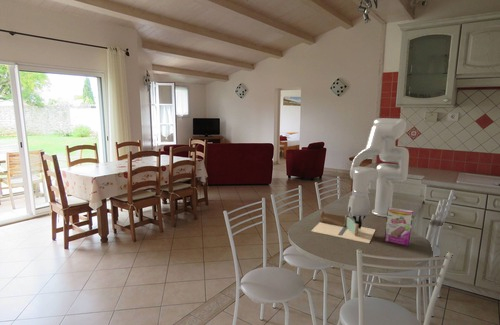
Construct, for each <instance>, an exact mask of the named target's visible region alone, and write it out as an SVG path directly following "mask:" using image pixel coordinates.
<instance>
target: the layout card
mask: <svg viewBox="0 0 500 325" xmlns="http://www.w3.org/2000/svg"><path fill="white" fill-rule="evenodd" d="M310 232H312V233H316V234H320V235H325V236H330V237H336V238H338V239H339V238H340V239H344V240H350V241H354V242H359V243H363V244H370V243H371V241H372V239H373V237H374V235H375V233H376V229H374V228H370V227H369V228H368V227H363V226H361V229H358V236H355V234H354V233H352V232H351V231H350V230H349V229H348V228H347V227H345V226H339V225H334V224H329V223H324V222H320V221H319V222H318V223H317V224H316V225H315V226H314V227H313V229H311V230H310Z"/></svg>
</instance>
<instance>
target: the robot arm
mask: <svg viewBox="0 0 500 325" xmlns="http://www.w3.org/2000/svg"><path fill="white" fill-rule="evenodd" d="M372 124H373V125H372V126H371V128H370V132H369V134H368V137H367V141H366V146H365V148H363V149H362V150H361V151H360V152H358V153H357V154H356V156H354V158H353V160H352V163H351V166H350V168H349V176H350V179H352V192H351V195H350V196H349V200H348V205H347V213H348V216H349V218H350V219H354V220H353V221H354V222H355V223H356V224H359V227H358V229H361V227H363V226H362V224H363V221H364V219H365V218H368V217H370V212H371V213H372V214H373V215H374V216H377V217H384V218H387V210H388V208H389V207H391V208H393V205H392V204H393V197H394V196H393V194H394V185H393V182H392V181H397V182H404V181H405V182H406V180H407V179H408V175H409V174H408V173H409V162H410V161H409V159H410V153H409V149H408V148H407V147H403V146H396V141H397V140H398V139H399V138H400V137H401V136H403V134H405V131H406V129H407V121H406V120H405V119H404V118H389V117H388V118H387V117H386V118H385V117H384V118H382V117H380V118H376V119H374V120H373V122H372ZM376 156H379V160H380V161H382V162H384V163H379V164H378V165H377V166H376V168H374V167H367V166H361V164H362V162H363V161H365V160H366V159H370V158H374V157H376ZM385 162H386V163H385ZM375 182H376V186H375V188H376V189H375V200H374V209H372V210H371V211H370V208H371V203H370V197H369V195H370V194H371V191H370V190H369V183H370V184H371V183H375Z"/></svg>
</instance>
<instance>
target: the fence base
mask: <svg viewBox="0 0 500 325" xmlns="http://www.w3.org/2000/svg"><path fill="white" fill-rule="evenodd" d="M347 217H349V214H348V215H347V214H345V215H344V214H343V215H341V214H338V213H337V214H336V213H330V212H326V211H324V210H320V213H319V223H320V222H324V223H329V224H334V225H339V226H345V227H346V226H347ZM349 218H350V217H349Z"/></svg>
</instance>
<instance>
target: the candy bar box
mask: <svg viewBox="0 0 500 325" xmlns="http://www.w3.org/2000/svg"><path fill="white" fill-rule="evenodd" d="M413 220H414V210H408V209H403V208H396V207H392V208H391V207H389V208H388V210H387V217H386V221H385V229H384V230H385V232H384V242H388V243H392V244H397V245H400V246H401V245H402V246H405V247H406V246H407V247H410V245H411V239H412V238H411V237H412V230H413V229H412V228H413Z"/></svg>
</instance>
